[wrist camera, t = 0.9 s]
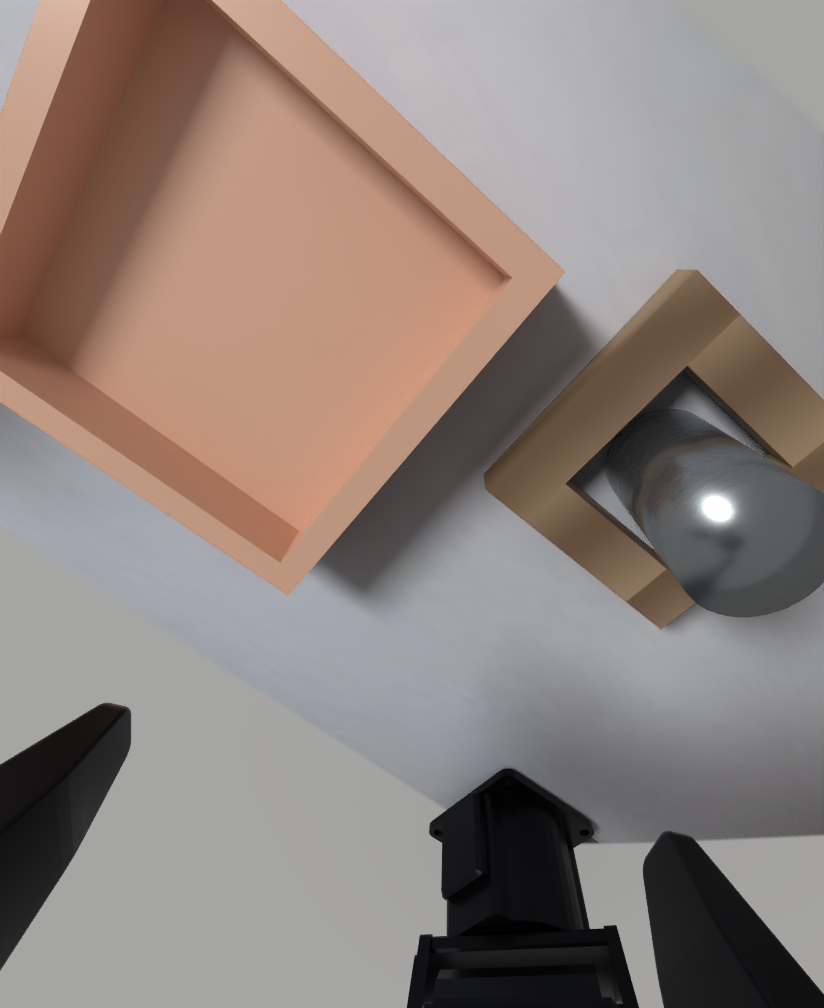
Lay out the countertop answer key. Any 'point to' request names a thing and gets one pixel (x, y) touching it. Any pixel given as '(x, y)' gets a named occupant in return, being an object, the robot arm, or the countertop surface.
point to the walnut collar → (621, 396)
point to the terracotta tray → (238, 269)
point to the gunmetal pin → (719, 514)
